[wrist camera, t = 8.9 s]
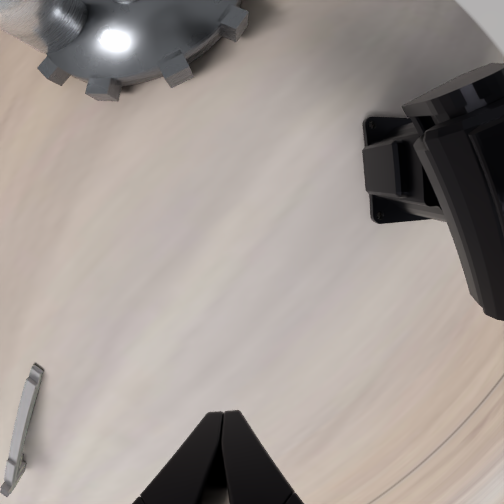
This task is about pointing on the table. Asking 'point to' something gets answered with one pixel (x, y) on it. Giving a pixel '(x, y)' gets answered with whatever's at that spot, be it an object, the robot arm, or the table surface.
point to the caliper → (21, 431)
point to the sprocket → (121, 38)
